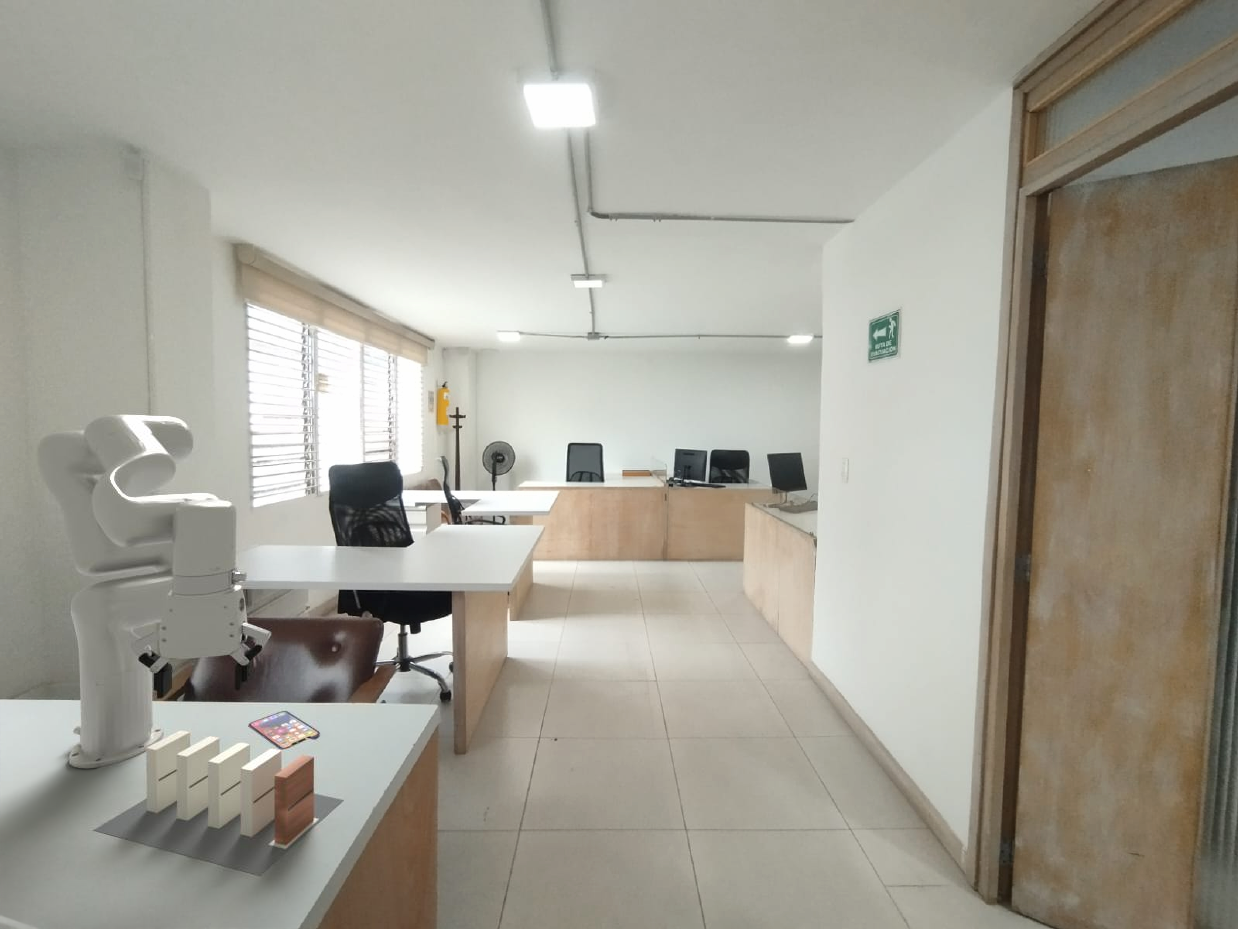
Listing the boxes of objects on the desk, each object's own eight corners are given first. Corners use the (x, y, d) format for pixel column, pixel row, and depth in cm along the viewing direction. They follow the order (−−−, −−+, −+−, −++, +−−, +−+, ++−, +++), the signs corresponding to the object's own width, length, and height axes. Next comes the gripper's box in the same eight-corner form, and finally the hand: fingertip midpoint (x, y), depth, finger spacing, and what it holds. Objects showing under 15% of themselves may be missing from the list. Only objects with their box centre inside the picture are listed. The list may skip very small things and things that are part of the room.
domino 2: (176, 818, 79) (176, 754, 78) (209, 796, 84) (209, 736, 83) (187, 821, 78) (187, 756, 78) (220, 798, 83) (219, 738, 83)
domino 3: (208, 826, 77) (207, 761, 77) (239, 803, 82) (239, 742, 82) (219, 829, 77) (218, 763, 76) (250, 806, 82) (250, 744, 81)
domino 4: (240, 834, 76) (240, 768, 75) (270, 810, 81) (270, 748, 80) (252, 837, 75) (251, 770, 75) (281, 813, 80) (281, 750, 80)
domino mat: (93, 833, 76) (93, 830, 76) (197, 770, 90) (197, 767, 90) (260, 879, 69) (259, 875, 69) (343, 803, 84) (343, 800, 84)
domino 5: (274, 842, 75) (274, 775, 74) (302, 818, 79) (302, 754, 79) (286, 845, 74) (286, 778, 74) (314, 820, 79) (314, 757, 78)
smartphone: (285, 713, 110) (322, 737, 102) (245, 728, 104) (281, 755, 96) (285, 709, 110) (322, 733, 102) (245, 724, 104) (281, 750, 96)
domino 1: (146, 810, 80) (145, 747, 80) (180, 789, 85) (180, 730, 84) (157, 813, 80) (156, 750, 79) (190, 791, 84) (190, 732, 84)
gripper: (277, 572, 85) (275, 673, 87) (145, 577, 79) (144, 685, 80) (264, 586, 78) (262, 695, 80) (118, 592, 72) (118, 710, 73)
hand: (203, 690), depth 80 cm, fingers open, 9 cm apart
